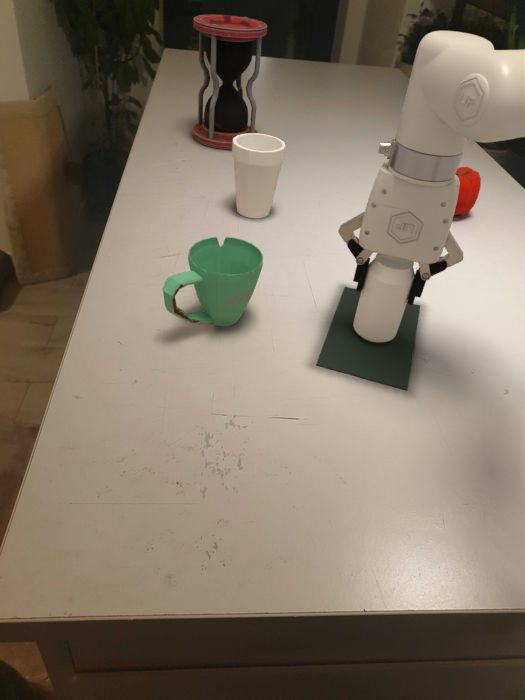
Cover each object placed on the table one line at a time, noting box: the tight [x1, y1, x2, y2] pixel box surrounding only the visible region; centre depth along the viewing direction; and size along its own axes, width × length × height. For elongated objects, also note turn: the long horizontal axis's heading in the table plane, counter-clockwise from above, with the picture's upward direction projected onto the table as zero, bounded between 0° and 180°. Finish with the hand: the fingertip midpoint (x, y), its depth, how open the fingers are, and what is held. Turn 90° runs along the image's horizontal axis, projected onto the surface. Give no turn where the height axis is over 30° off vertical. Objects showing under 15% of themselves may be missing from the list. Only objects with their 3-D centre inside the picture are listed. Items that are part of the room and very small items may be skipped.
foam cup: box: [231, 132, 287, 219], centre depth 97 cm, size 10×9×13 cm
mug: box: [162, 236, 264, 327], centre depth 70 cm, size 15×10×10 cm
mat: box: [316, 286, 421, 391], centre depth 75 cm, size 20×12×1 cm, turn 162°
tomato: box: [454, 166, 482, 216], centre depth 107 cm, size 11×12×9 cm
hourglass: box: [192, 13, 268, 150], centre depth 122 cm, size 16×16×25 cm
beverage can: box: [353, 253, 416, 342], centre depth 71 cm, size 6×6×12 cm
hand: (385, 291), depth 70 cm, fingers closed on beverage can, 6 cm apart
